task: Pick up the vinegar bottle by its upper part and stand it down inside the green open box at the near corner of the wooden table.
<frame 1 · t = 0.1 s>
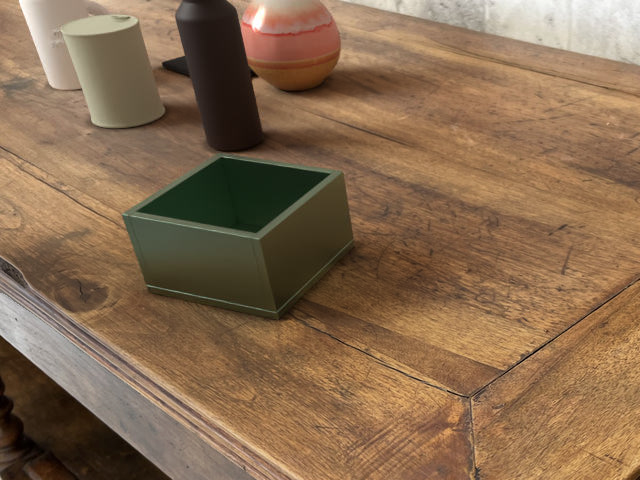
green open box: (256, 268, 75), on the table
mug: (93, 79, 119), on the table
smartphone: (210, 71, 120), on the table
can: (129, 117, 106), on the table
vinegar: (236, 143, 99), on the table
vase: (298, 85, 115), on the table
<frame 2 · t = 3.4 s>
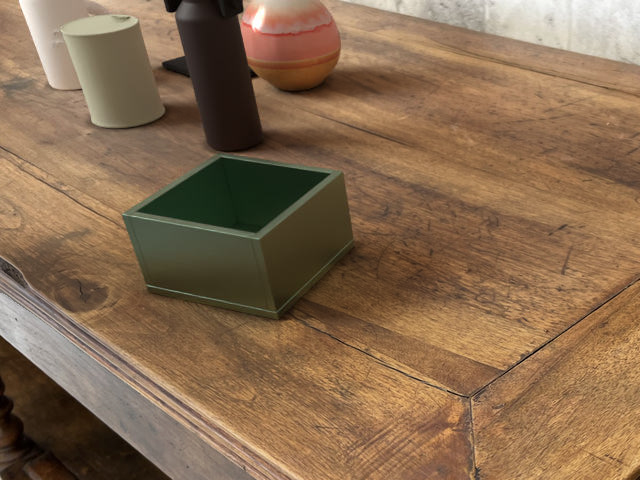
hand: (205, 11, 89), 15 cm above the table, tool pointing down, fingers closed on vinegar, 6 cm apart
vinegar: (236, 143, 99), on the table, touching gripper
everything else where it was.
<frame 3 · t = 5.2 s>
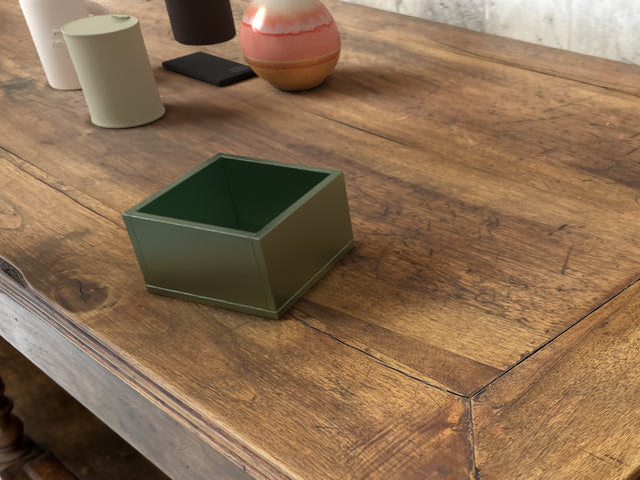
vinegar: (206, 40, 90), point 12 cm above the table, touching gripper
everything else where it was.
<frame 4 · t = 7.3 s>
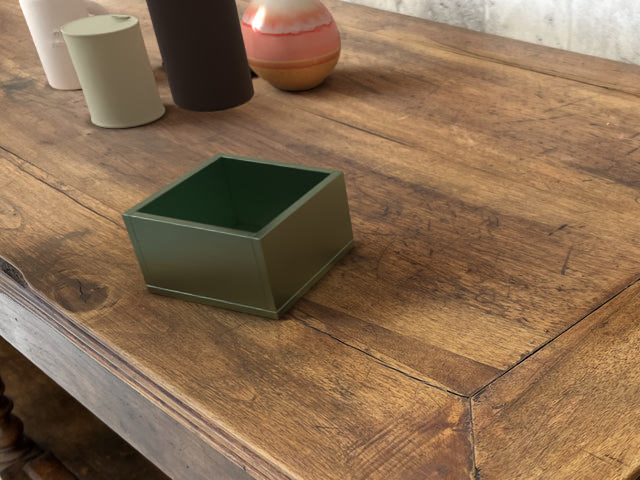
vinegar: (215, 102, 69), point 14 cm above the table, touching gripper
everything else where it was.
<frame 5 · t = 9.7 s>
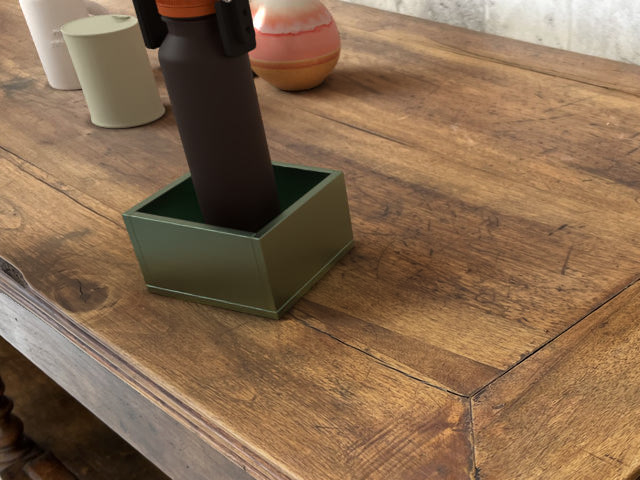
hand: (201, 46, 62), 20 cm above the table, tool pointing down, fingers closed on vinegar, 6 cm apart
vinegar: (245, 223, 72), point 5 cm above the table, touching gripper
everything else where it was.
when the fingers open (16 cm above the table, at t = 11.4 s): vinegar stays where it is, resting on green open box.
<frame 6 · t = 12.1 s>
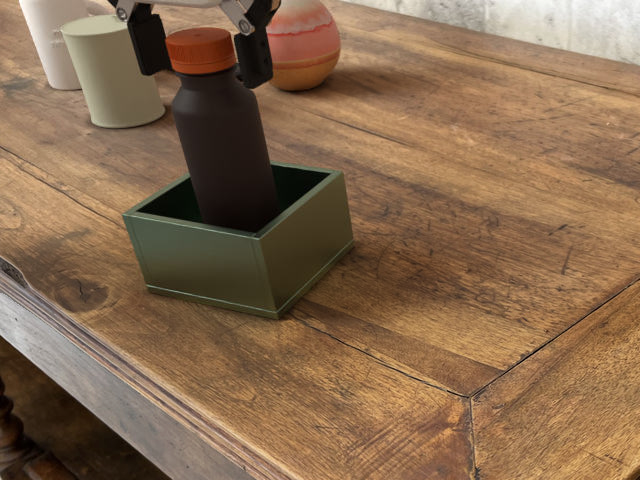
hand: (207, 77, 64), 18 cm above the table, tool pointing down, fingers open, 9 cm apart
vinegar: (253, 262, 75), point 1 cm above the table, touching green open box
everything else where it was.
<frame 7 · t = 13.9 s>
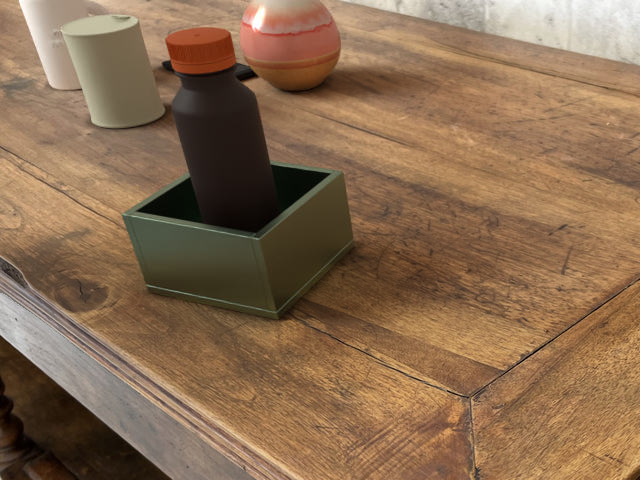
nothing on the table moved.
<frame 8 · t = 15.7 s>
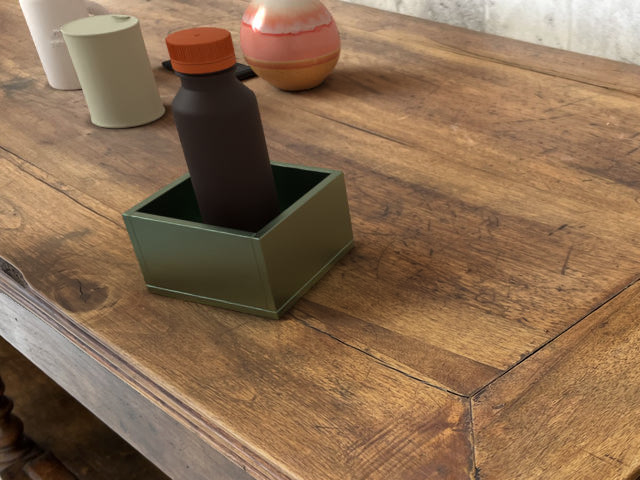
nothing on the table moved.
at the end: vinegar inside the target area in the green open box (0.1 cm from its centre), point 0.6 cm above the green open box's base; vinegar tilted 0°; the gripper is holding nothing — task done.
